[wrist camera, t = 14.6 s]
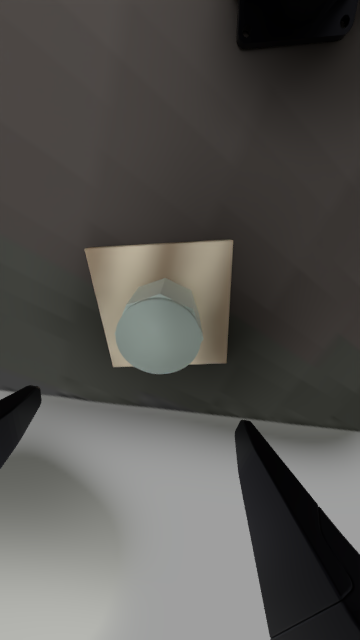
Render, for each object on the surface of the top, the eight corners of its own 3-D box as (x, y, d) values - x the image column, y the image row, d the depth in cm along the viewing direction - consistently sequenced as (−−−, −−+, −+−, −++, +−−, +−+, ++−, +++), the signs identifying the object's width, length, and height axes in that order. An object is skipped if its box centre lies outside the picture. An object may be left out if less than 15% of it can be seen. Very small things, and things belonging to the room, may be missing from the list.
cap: (179, 349, 20) (178, 384, 16) (123, 325, 19) (104, 356, 15) (208, 298, 18) (217, 323, 14) (146, 268, 17) (132, 284, 12)
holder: (230, 239, 17) (239, 242, 14) (224, 356, 22) (230, 376, 19) (90, 247, 17) (72, 251, 15) (116, 360, 23) (106, 380, 20)
